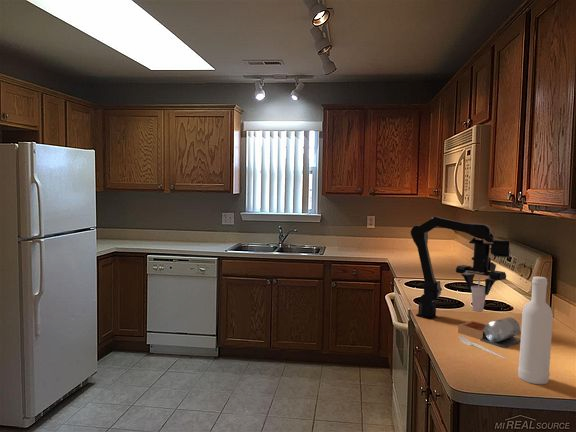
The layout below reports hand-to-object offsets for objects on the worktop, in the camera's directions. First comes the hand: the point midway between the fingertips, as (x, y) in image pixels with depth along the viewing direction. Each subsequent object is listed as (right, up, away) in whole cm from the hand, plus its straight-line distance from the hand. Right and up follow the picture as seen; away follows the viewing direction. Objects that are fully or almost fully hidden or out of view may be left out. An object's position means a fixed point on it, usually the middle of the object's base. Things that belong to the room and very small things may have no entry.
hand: (478, 293), depth 184 cm
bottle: (-6, -16, -51) cm, 54 cm away
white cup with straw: (0, -7, +1) cm, 7 cm away
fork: (-10, -15, -27) cm, 33 cm away
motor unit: (-3, -14, -15) cm, 20 cm away
